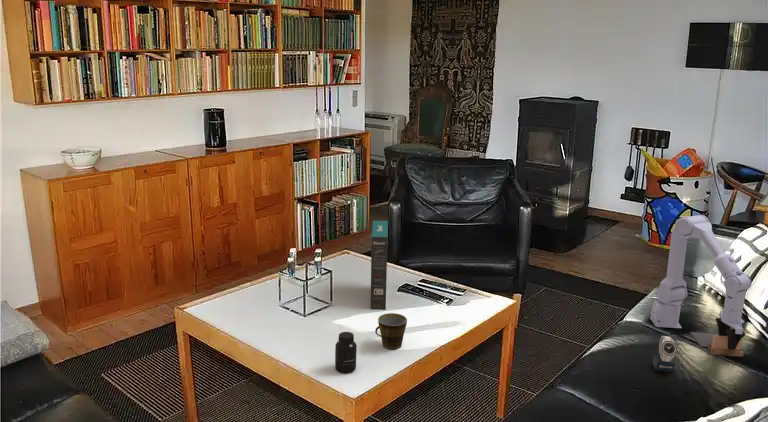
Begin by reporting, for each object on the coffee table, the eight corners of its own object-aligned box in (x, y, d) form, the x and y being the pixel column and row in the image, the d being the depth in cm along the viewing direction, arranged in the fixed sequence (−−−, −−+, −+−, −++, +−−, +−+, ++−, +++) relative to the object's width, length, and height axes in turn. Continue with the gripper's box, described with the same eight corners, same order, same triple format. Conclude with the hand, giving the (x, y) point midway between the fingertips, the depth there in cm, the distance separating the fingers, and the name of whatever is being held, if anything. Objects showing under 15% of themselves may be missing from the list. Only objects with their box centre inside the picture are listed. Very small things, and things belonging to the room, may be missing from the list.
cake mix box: (385, 309, 247) (387, 237, 239) (370, 309, 247) (371, 236, 239) (386, 288, 268) (387, 220, 260) (372, 288, 268) (373, 220, 260)
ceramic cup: (391, 336, 225) (392, 310, 222) (412, 346, 218) (413, 319, 216) (365, 347, 216) (365, 321, 214) (385, 358, 209) (386, 331, 207)
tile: (712, 352, 218) (715, 337, 217) (710, 350, 220) (713, 335, 218) (739, 354, 217) (742, 339, 216) (737, 352, 219) (740, 337, 217)
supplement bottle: (348, 376, 198) (348, 341, 195) (330, 370, 201) (330, 336, 198) (360, 367, 203) (360, 333, 200) (343, 361, 207) (343, 328, 204)
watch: (657, 373, 203) (662, 342, 201) (651, 361, 211) (655, 331, 208) (675, 375, 203) (680, 344, 200) (668, 363, 210) (673, 333, 207)
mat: (700, 346, 222) (701, 345, 222) (690, 333, 233) (690, 332, 233) (742, 350, 221) (742, 348, 220) (730, 335, 231) (730, 334, 231)
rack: (712, 354, 217) (713, 350, 216) (707, 348, 221) (708, 344, 221) (743, 356, 216) (743, 352, 215) (737, 350, 220) (738, 346, 220)
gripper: (755, 317, 207) (748, 354, 210) (736, 300, 220) (730, 335, 224) (732, 316, 207) (725, 353, 211) (715, 298, 221) (709, 334, 225)
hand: (726, 344), depth 218 cm, fingers open, 7 cm apart
